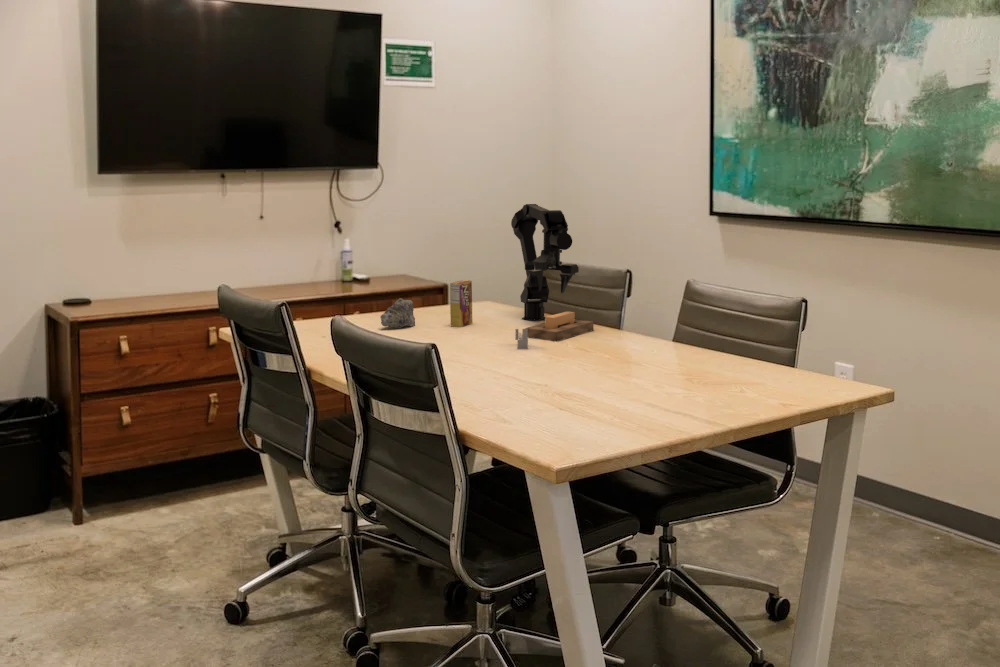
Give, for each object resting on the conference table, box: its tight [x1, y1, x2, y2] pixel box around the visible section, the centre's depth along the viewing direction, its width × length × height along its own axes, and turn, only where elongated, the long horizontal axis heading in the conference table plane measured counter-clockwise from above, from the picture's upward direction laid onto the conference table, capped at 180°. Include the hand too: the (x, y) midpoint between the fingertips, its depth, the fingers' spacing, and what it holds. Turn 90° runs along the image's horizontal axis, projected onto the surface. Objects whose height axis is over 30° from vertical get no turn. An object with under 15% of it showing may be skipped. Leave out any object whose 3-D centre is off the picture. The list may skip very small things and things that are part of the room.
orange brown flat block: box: [544, 311, 576, 329], centre depth 344 cm, size 3×14×6 cm, turn 146°
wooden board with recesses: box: [525, 319, 594, 342], centre depth 345 cm, size 12×24×3 cm, turn 146°
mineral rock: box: [380, 298, 416, 329], centre depth 353 cm, size 13×11×10 cm
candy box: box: [449, 279, 473, 328], centre depth 358 cm, size 9×4×15 cm, turn 152°
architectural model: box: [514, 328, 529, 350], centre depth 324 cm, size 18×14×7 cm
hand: (550, 291), depth 356 cm, fingers open, 9 cm apart
